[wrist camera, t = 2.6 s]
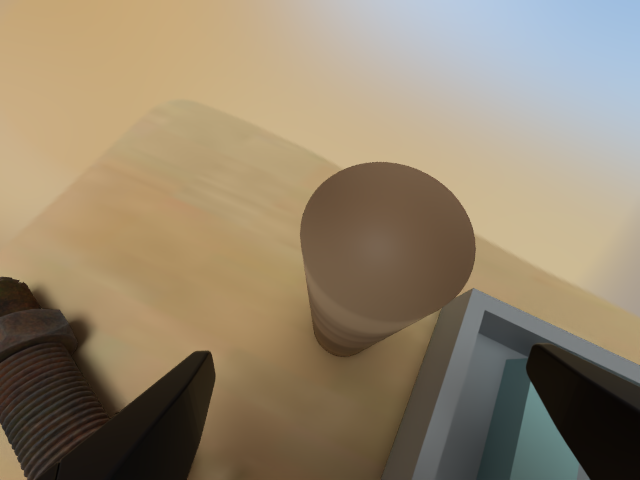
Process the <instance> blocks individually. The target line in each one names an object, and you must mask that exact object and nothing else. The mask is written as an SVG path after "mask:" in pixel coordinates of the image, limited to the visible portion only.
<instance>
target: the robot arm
mask: <svg viewBox="0 0 640 480" xmlns="http://www.w3.org/2000/svg"><path fill="white" fill-rule="evenodd" d="M526 372H527V375H528V377H529V379H530V381H531V383H532V384H533V386H534V388H535V390H536V392H537V394H538V395H539V397H540V399H541V401H542V403H543V405H544V406H545V408H546V410H547V412H548V414H549V416H550V417H551V419H552V421H553V423H554V425H555V426H556V428H557V430H558V431H559V433H560V435H561V436H562V438H563V439H564V441H565V442H566V444H567V446H568V447H569V449H570V450H571V452H572V453H573V455H574V456H575V458H576V459H577V461H578V462H579V464H580V465H581V467H582V468H583V470H584V471H585V473H586V474H587V476H588V477H589V479H590V480H640V387H639V386H637V385H635V384H633V383H631V382H629V381H627V380H625V379H623V378H621V377H619V376H617V375H614V374H612V373H610V372H608V371H606V370H604V369H602V368H600V367H598V366H596V365H594V364H592V363H590V362H588V361H586V360H584V359H582V358H580V357H578V356H576V355H574V354H571V353H569V352H567V351H565V350H563V349H561V348H559V347H557V346H555V345H553V344H550V343H536V344H534V345H533V346H532V347H531V350H530V353H529V357H528V360H527V363H526ZM214 383H215V369H214V363H213V358H212V354H211V352H210V351H195V352H193V353H192V354H191V355H189V356H188V357H187V358H186V359H185V360H183V361H182V362H181V363H180V364H178V365H177V366H176V367H175V368H173V369H172V370H171V371H170V372H168V373H167V374H166V375H165V376H163V377H162V378H161V379H160V380H158V381H157V382H156V383H155V384H153V385H152V386H151V387H150V388H148V389H147V390H146V391H145V392H144V393H142V394H141V395H140V396H139V397H137V398H136V399H135V400H134V401H132V402H131V403H130V404H129V405H127V406H126V407H125V408H124V409H122V410H121V411H120V412H119V413H117V414H116V415H115V416H114V417H112V418H111V419H110V420H109V421H107V422H106V423H105V424H104V425H103V426H101V427H100V428H99V429H98V430H96V431H95V432H94V433H93V434H91V435H90V436H89V437H88V438H86V439H85V440H84V441H83V442H81V443H80V444H79V445H78V446H76V447H75V448H74V449H73V450H71V451H70V452H69V453H68V454H66V455H65V456H64V457H63V458H62V459H61V460H60V462H57V463H55V464H54V465H53V466H51V467H50V468H49V469H48V470H46V471H45V472H44V473H43V474H41V475H40V476H39V477H38V478H36V479H35V480H187V477H188V474H189V472H190V469H191V466H192V463H193V460H194V457H195V455H196V452H197V449H198V446H199V443H200V440H201V436H202V432H203V428H204V424H205V420H206V416H207V412H208V408H209V404H210V400H211V396H212V392H213V387H214Z"/></svg>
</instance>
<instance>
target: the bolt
mask: <svg viewBox="0 0 640 480" xmlns="http://www.w3.org/2000/svg"><path fill="white" fill-rule="evenodd" d="M19 281H20V280H15V279H12V278H9V277H0V423H1V425H2V428H3V430H4V431H5V435H6V436H7V437H8V441H9V443H10V444H12V449H14V452H15V454H16V456H18V457H17V459H18V461H19V462H20V463H21V469H22V470H24V476H25V477H28V478H27V480H35V479H36V478H38V477H39V476H40V475H41V474H43V473H44V472H45V471H46V470H48V469H49V468H50V467H51V466H53V465H54V464H55V463H57V462H60V460H61V459H62V458H63V457H64V456H65V455H66V454H68V453H69V452H70V451H71V450H73V449H74V448H75V447H76V446H78V445H79V444H80V443H81V442H83V441H84V440H85V439H86V438H88V437H89V436H90V435H91V434H93V433H94V432H95V431H96V430H98V429H99V428H100V427H101V426H103V425H104V424H105V423H106V422H107V421H109V420H110V419H109V418H108V415H107V414H106V413H105V410H104V409H103V408H102V407H101V403H99V402H98V399H97V398H96V397H95V394H94V393H93V392H92V389H91V388H90V387H89V385H88V384H87V382H86V379H85V378H84V377H83V376H82V373H80V370H79V369H78V368H77V365H76V364H75V363H74V360H73V359H72V358H71V355H72V354H73V352H74V351H75V349H76V347H77V345H78V343H77V340H76V338H75V335H74V333H73V331H72V329H71V327H70V325H69V323H68V322H67V320H66V319H65V317H64V316H63V314H62V313H61V311H60V310H52V309H41V308H40V306H39V304H38V303H37V301H36V300H35V298H34V296H33V295H32V293H31V291H30V289H29V288H28V286H27V285H26V284H25V283H24V282H23V283H21V282H19ZM18 282H19V283H18Z"/></svg>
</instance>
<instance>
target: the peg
mask: <svg viewBox="0 0 640 480" xmlns="http://www.w3.org/2000/svg"><path fill="white" fill-rule="evenodd" d="M300 238H301V248H302V255H303V261H304V268H305V275H306V281H307V288H308V295H309V301H310V308H311V315H312V322H313V328H314V333H315V336H316V339H317V341H318V342H319V344H320V345H321V346H322V347H323V348H324V349H325V350H326V351H328V352H329V353H331V354H333V355H336V356H351V355H354V354H357V353H359V352H360V351H362V350H364V349H366V348H368V347H370V346H372V345H374V344H375V343H377V342H379V341H381V340H383V339H385V338H387V337H389V336H391V335H392V334H394V333H396V332H398V331H400V330H402V329H404V328H406V327H407V326H409V325H411V324H413V323H415V322H417V321H419V320H421V319H423V318H424V317H426V316H428V315H430V314H432V313H434V312H436V311H437V310H439V309H441V308H442V307H444V306H446V305H447V304H448V303H449V302H451V301H452V300H453V299H454V298H455V297H456V296H457V295H458V294H459V293H460V291H461V290H462V289H463V287H464V286H465V284H466V283H467V281H468V279H469V277H470V274H471V272H472V269H473V265H474V261H475V251H476V247H475V237H474V232H473V228H472V225H471V222H470V219H469V217H468V215H467V213H466V211H465V209H464V208H463V206H462V205H461V203H460V202H459V200H458V199H457V198H456V197H455V196H454V195H453V193H452V192H451V191H450V190H448V189H447V188H446V187H445V186H444V185H443V184H442V183H440V182H439V181H438V180H436V179H435V178H433V177H431V176H429V175H428V174H426V173H424V172H422V171H420V170H417V169H414V168H412V167H409V166H405V165H401V164H396V163H388V162H372V163H364V164H359V165H355V166H352V167H349V168H346V169H344V170H342V171H340V172H338V173H336V174H334V175H333V176H331V177H330V178H328V179H327V180H326V181H325V182H323V183H322V184H321V185H320V186H319V187H318V188H317V190H316V191H315V192H314V194H313V195H312V196H311V198H310V200H309V202H308V203H307V205H306V208H305V210H304V213H303V217H302V221H301V230H300Z"/></svg>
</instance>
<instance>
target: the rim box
mask: <svg viewBox="0 0 640 480" xmlns="http://www.w3.org/2000/svg"><path fill="white" fill-rule="evenodd" d="M536 343H550V344H553V345H555V346H557V347H559V348H561V349H563V350H565V351H567V352H569V353H571V354H574V355H576V356H578V357H580V358H582V359H584V360H586V361H588V362H590V363H592V364H594V365H596V366H598V367H600V368H602V369H604V370H606V371H608V372H610V373H612V374H614V375H617V376H619V377H621V378H623V379H625V380H627V381H629V382H631V383H633V384H635V385H637V386H639V387H640V365H638V364H636V363H634V362H631V361H629V360H627V359H625V358H623V357H621V356H619V355H616V354H614V353H612V352H610V351H608V350H606V349H603V348H601V347H599V346H597V345H595V344H593V343H591V342H588V341H586V340H584V339H582V338H580V337H578V336H575V335H573V334H571V333H569V332H567V331H565V330H563V329H560V328H558V327H556V326H554V325H552V324H550V323H547V322H545V321H543V320H541V319H539V318H537V317H535V316H532V315H530V314H528V313H526V312H524V311H522V310H519V309H517V308H515V307H513V306H511V305H509V304H507V303H504V302H502V301H500V300H498V299H496V298H494V297H491V296H489V295H487V294H485V293H483V292H481V291H479V290H476V289H474V288H473V289H471V290H469V291H467V292H465V293H464V294H462V295H460V296H458V297H456V298H455V299H453V300H452V301H451V302H449V303H448V304H447V305H446V306H444V307H442V309H441V312H440V315H439V318H438V321H437V323H436V326H435V329H434V332H433V335H432V337H431V340H430V343H429V346H428V349H427V351H426V354H425V357H424V360H423V363H422V365H421V368H420V371H419V374H418V377H417V379H416V382H415V385H414V388H413V391H412V393H411V396H410V399H409V402H408V405H407V407H406V410H405V413H404V416H403V419H402V421H401V424H400V427H399V430H398V433H397V435H396V438H395V441H394V444H393V447H392V450H391V452H390V455H389V458H388V461H387V464H386V466H385V469H384V472H383V475H382V478H381V480H590V479H589V477H588V476H587V474H586V473H585V471H584V470H583V468H582V467H581V465H580V464H579V462H578V461H577V459H576V458H575V456H574V455H573V453H572V452H571V450H570V449H569V447H568V446H567V444H566V442H565V441H564V439H563V438H562V436H561V435H560V433H559V431H558V430H557V428H556V426H555V425H554V423H553V421H552V419H551V417H550V416H549V414H548V412H547V410H546V408H545V406H544V405H543V403H542V401H541V399H540V397H539V395H538V394H537V392H536V390H535V388H534V386H533V384H532V383H531V381H530V379H529V377H528V375H527V372H526V363H527V360H528V357H529V353H530V350H531V347H532V346H533V345H534V344H536Z"/></svg>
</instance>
